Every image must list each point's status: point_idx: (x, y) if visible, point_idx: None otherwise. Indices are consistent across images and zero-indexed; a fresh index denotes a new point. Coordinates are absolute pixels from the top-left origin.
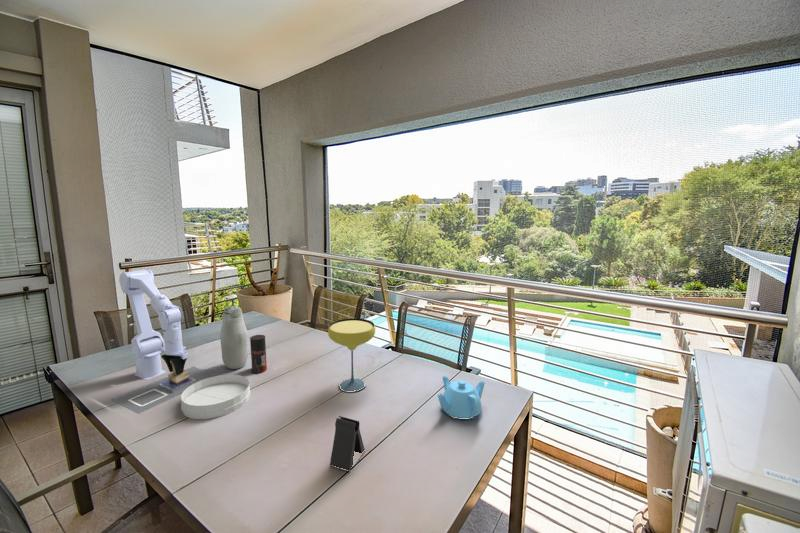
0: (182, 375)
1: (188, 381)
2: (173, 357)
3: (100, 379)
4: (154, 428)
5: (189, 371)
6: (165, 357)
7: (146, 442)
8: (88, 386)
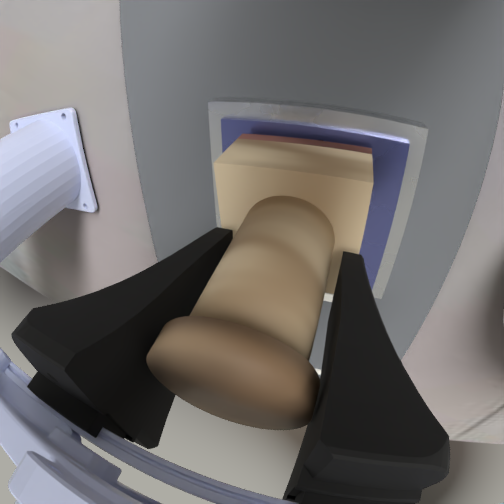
0: (360, 240)
1: (400, 184)
2: (145, 368)
3: (23, 248)
4: (476, 411)
5: (168, 14)
6: (153, 439)
7: (487, 430)
8: (49, 283)
